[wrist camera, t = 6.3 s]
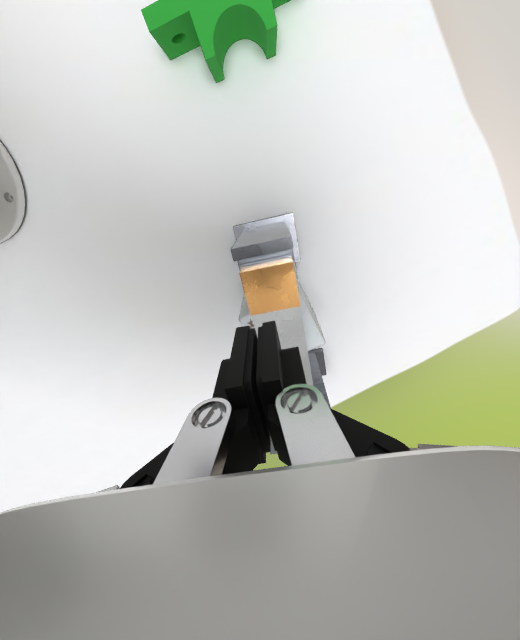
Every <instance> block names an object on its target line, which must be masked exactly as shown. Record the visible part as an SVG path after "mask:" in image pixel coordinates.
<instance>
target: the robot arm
mask: <svg viewBox="0 0 520 640" xmlns="http://www.w3.org/2000/svg"><path fill="white" fill-rule="evenodd" d="M24 211H25V196H24V189H23V185H22V182H21V178H20V175H19V173H18V171H17V168H16V166H15V164H14V162H13V160H12V158H11V157H10V155H9V153H8V152H7V150H6V148H5V147H4V146H3V145H2V143H1V142H0V243H1V242H3V241H6V240H8V239H9V238H10V237H11V236H13V235H14V234H15V233H16V232H17V230H18V228H19V227H20V225H21V223H22V220H23V217H24ZM270 436H271V438H270ZM271 440H272V443H273V447H274V450H275V451H277V453H278V456H279V459H280V460H281V461H282V462H284V463H285V464H286V465H288V466H284V467H277V468H269V469H262V470H254V471H253V469H254V468H255V467H256V466H257V465H258V464H261V463H266V452H271ZM0 640H520V448H516V447H502V446H445V445H429V444H418V448H408V447H407V446H406V445H405V444H403V443H402V442H400V441H398V440H397V439H395V438H392V437H390V436H388V435H386V434H384V433H382V432H380V431H378V430H375V429H373V428H371V427H369V426H367V425H365V424H363V423H360V422H358V421H356V420H354V419H352V418H350V417H348V416H345V415H343V414H341V413H339V412H337V411H335V410H332V409H330V408H329V406H328V405H327V403H326V401H325V399H324V397H323V395H322V393H321V392H320V391H319V390H318V389H317V388H316V387H314V386H311V385H308V384H307V383H306V378H305V374H304V370H303V365H302V361H301V356H300V352H299V347H292V348H287V349H281V345H280V340H279V336H278V331H277V326H276V322H275V321H269V322H264V323H262V326H261V327H258V338H257V334H256V330H255V328H250V326H243V327H238V328H236V332H235V337H234V342H233V347H232V352H231V357H230V359H226V360H222V362H221V366H220V370H219V374H218V378H217V382H216V386H215V390H214V394H213V398H211V399H208V400H205V401H203V402H201V403H199V404H198V405H196V406H195V407H194V408H193V409H192V410H191V412H190V413H189V415H188V417H187V419H186V420H185V422H184V424H183V426H182V428H181V430H180V432H179V434H178V436H177V438H176V440H175V442H174V443H173V444H171V445H170V446H169V447H168V448H166V449H165V450H164V451H162V452H161V453H160V454H159V455H157V456H156V457H155V458H154V459H152V460H151V461H150V462H149V463H147V464H146V465H145V466H144V467H142V468H141V469H140V470H138V471H137V472H136V473H135V474H133V475H132V476H131V477H130V478H129V479H128V480H127V481H126V482H125V483H124V484H123V485H122V486H121V488H119V486H118V485H116V486H113V487H110V488H107V489H105V490H102V491H99V492H96V493H90V494H83V495H77V496H71V497H65V498H59V499H54V500H49V501H43V502H38V503H33V504H29V505H25V506H21V507H17V508H13V509H10V510H7V511H4V512H1V513H0Z"/></svg>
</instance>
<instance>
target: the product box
mask: <svg viewBox="0 0 520 640" xmlns="http://www.w3.org/2000/svg"><path fill="white" fill-rule="evenodd" d="M298 283H299V282H298ZM297 288H298V294H299V300H300V308H301V314H302V320H303V326H304V332H305V338H306V344H307V350H308V351H310V350H312V349H314V348H317V347H319V346H321V345H324V344H325V339H324V337H323V334H322V331H321V328H320V326H319V323H318V321H317V318H316V316H315V313H314V311H313V309H312V307H311V305H310V303H309V301H308V299H307V297H306V295H305V293H304V292H303V290H302V288H301V286H300V284H299V285H297ZM239 321H240V323H241V325H242V326H250V328H255V326H254V322H253V318H252V316H251V315H250V311H249V308H248V304H247V300H246V296H245V293H244V297H243V302H242V307H241V311H240V316H239ZM257 338H258V337H257Z"/></svg>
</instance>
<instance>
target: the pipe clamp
mask: <svg viewBox="0 0 520 640" xmlns="http://www.w3.org/2000/svg"><path fill="white" fill-rule="evenodd" d="M289 1H291V0H158V1H156V2H154V3H153V4H151V5H149V6H147V7H145V8H143V9H142V10H141V11H142V14H143V16H144V19H145V22H146V24H147V27H148V29H149V32H150V33H151V35H152V36H153V37H154V39H155V40H156V41H157V43H158V44H159V45H160V47H161V48H162V49H163V51H164V52H165V53H166V55H167V56H168V58H169V59H170V60H172V59H174V58H176V57H178V56H180V55H182V54H184V53H186V52H188V51H190V50H192V49H194V48H196V47H198V46H200V45H201V48H202V51H203V54H204V57H205V60H206V62H207V64H208V66H209V69H210V71H211V73H212V75H213V77H214V79H215V81H216V83H218V82H220V81H222V80H224V75H223V62H224V57H225V54H226V52H227V50H228V49H229V47H230V46H231V45H232V44H233V43H235V42H236V41H238V40H241V39H249V40H252V41H254V42H256V43H257V44H258V45H259V46H260V47H261V48H262V49H263V51H264V53H265V55H266V58H267V59H269V58H271V57H273V56H275V55H276V40H277V22H276V17H275V13H274V9H275V8H277V7H279V6H281V5H283V4H285V3H287V2H289Z"/></svg>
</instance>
